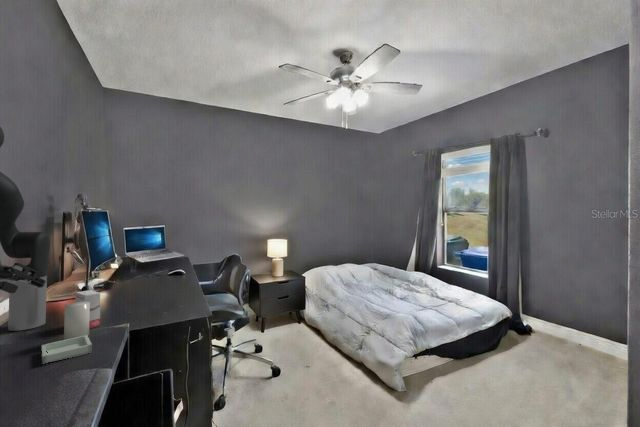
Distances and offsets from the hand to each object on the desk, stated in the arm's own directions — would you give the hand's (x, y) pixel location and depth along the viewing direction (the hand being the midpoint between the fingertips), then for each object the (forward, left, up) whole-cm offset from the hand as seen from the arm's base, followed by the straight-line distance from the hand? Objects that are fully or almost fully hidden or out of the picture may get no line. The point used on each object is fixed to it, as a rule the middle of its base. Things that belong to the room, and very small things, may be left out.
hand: (29, 287), depth 82 cm
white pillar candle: (-1, +11, -18) cm, 21 cm away
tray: (+9, +8, -18) cm, 22 cm away
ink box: (-14, +15, -18) cm, 27 cm away
